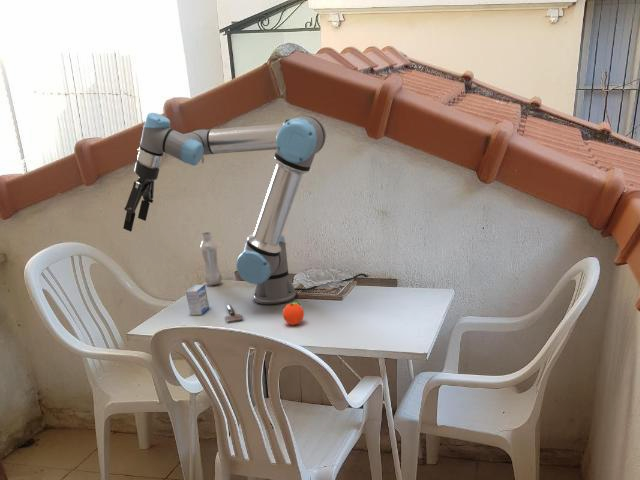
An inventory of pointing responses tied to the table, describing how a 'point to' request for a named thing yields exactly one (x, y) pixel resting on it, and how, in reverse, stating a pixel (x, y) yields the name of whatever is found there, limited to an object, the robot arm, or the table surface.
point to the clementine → (293, 313)
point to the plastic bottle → (210, 260)
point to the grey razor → (233, 315)
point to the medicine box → (197, 300)
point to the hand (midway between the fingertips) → (134, 224)
